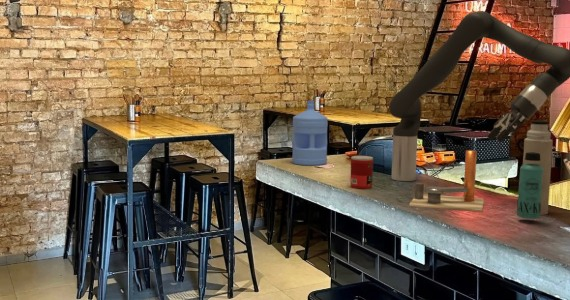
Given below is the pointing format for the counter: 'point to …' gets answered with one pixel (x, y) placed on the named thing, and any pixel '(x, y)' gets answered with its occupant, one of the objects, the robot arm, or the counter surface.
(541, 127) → the thermos bottle
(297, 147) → the water jug
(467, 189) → the lever
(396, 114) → the robot arm
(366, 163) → the canned food
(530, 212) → the beverage bottle
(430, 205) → the hub board
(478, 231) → the counter surface
